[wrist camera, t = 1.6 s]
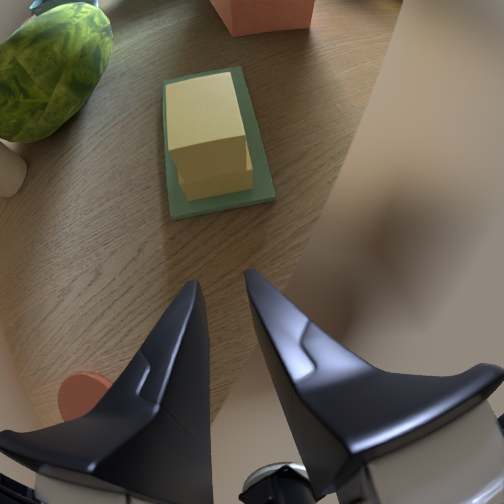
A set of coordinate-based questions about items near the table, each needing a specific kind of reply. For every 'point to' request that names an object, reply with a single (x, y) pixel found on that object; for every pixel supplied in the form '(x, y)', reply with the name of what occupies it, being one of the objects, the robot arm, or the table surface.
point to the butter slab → (205, 127)
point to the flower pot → (55, 5)
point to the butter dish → (253, 149)
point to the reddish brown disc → (81, 394)
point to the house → (264, 15)
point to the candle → (11, 171)
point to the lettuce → (51, 69)
